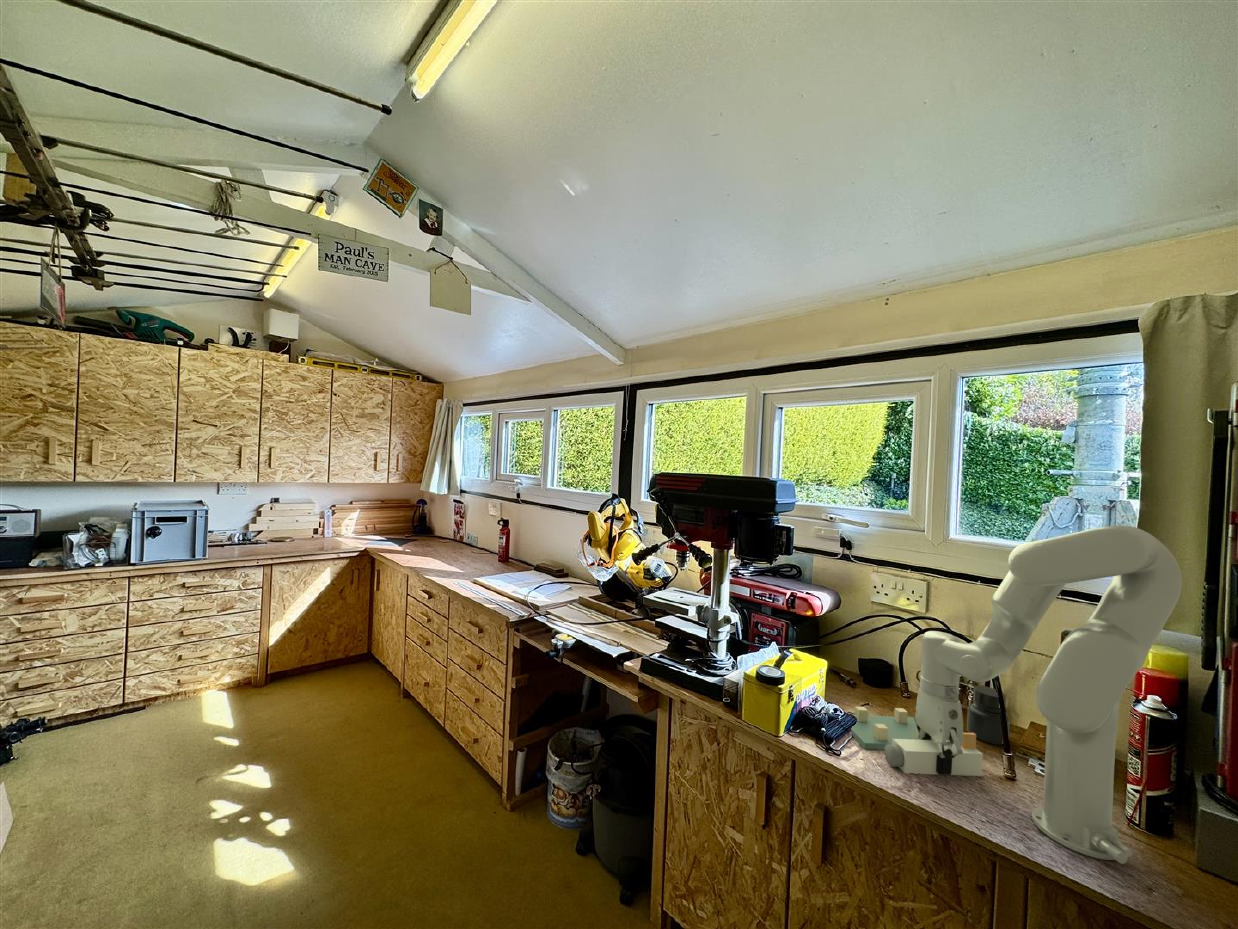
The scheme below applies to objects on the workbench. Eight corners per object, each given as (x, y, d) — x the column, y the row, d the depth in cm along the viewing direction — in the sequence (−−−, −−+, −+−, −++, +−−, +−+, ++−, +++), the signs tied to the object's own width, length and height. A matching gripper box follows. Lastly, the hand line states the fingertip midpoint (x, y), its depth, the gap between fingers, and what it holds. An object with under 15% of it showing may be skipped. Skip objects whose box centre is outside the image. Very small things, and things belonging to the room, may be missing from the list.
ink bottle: (1019, 745, 124) (1021, 698, 125) (995, 749, 121) (998, 701, 122) (979, 725, 133) (981, 682, 134) (957, 729, 131) (959, 685, 131)
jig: (951, 752, 119) (952, 733, 119) (864, 749, 118) (865, 730, 118) (914, 722, 133) (914, 706, 133) (836, 719, 132) (836, 703, 132)
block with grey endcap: (981, 776, 109) (983, 739, 110) (896, 773, 109) (898, 736, 109) (965, 762, 114) (966, 728, 115) (883, 759, 114) (884, 724, 114)
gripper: (983, 706, 104) (979, 791, 103) (929, 672, 121) (925, 745, 120) (950, 704, 103) (945, 790, 103) (900, 671, 120) (896, 744, 120)
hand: (934, 765), depth 112 cm, fingers closed on block with grey endcap, 5 cm apart
